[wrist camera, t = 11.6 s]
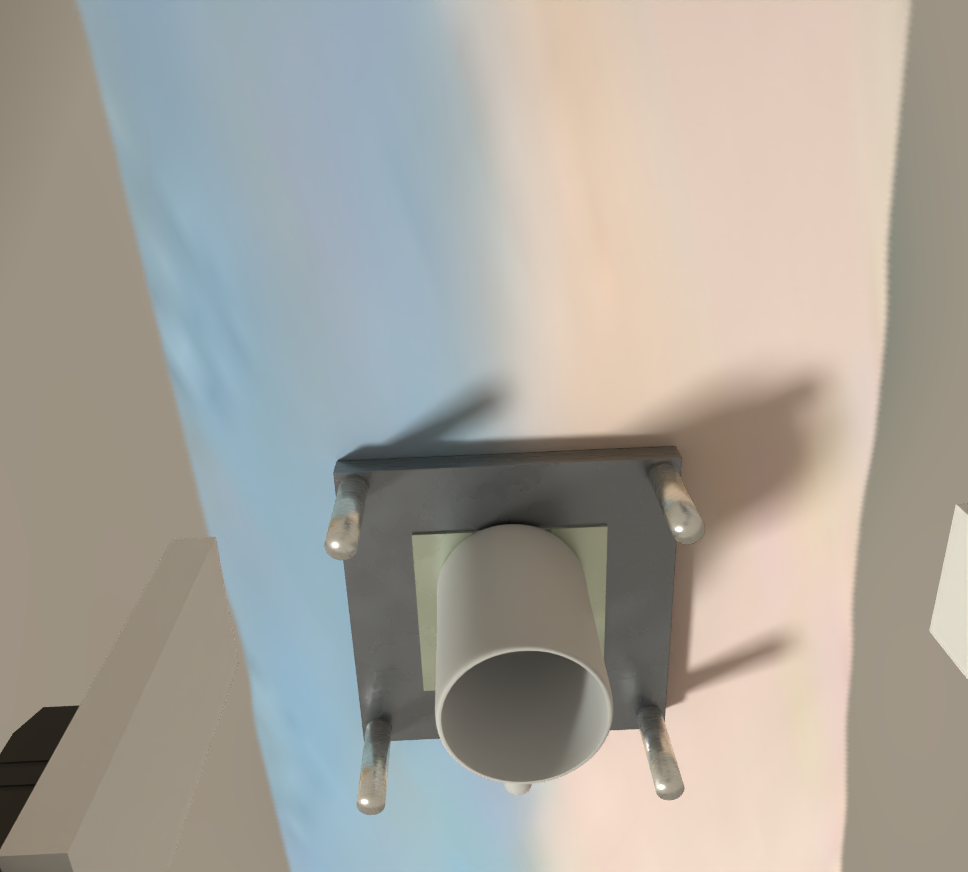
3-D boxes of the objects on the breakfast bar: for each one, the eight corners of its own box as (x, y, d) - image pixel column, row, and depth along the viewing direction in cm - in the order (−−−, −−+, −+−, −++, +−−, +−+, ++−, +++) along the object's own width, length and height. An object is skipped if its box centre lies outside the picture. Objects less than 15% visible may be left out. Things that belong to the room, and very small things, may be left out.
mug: (436, 522, 50) (431, 645, 40) (588, 520, 50) (621, 642, 40) (439, 693, 55) (436, 841, 45) (578, 690, 55) (606, 837, 45)
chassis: (336, 461, 50) (318, 529, 43) (675, 446, 50) (710, 511, 43) (366, 725, 58) (354, 818, 51) (659, 711, 58) (686, 801, 51)
